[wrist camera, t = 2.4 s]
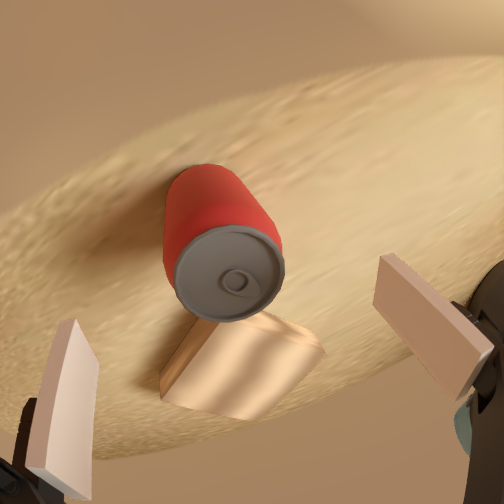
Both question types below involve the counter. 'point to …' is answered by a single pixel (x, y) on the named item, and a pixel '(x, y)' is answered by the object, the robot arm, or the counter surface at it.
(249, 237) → the beer can
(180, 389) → the maple base
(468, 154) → the counter surface
